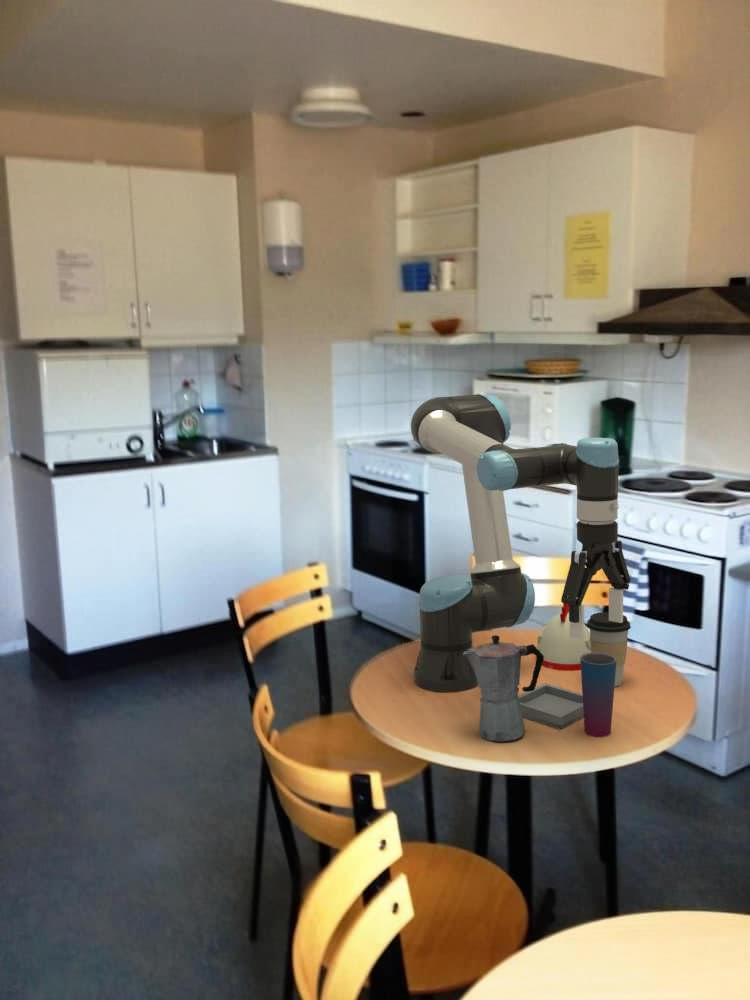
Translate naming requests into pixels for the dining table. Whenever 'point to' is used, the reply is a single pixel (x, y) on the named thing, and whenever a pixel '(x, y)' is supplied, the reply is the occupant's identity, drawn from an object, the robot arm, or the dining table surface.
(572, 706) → the tray
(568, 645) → the kitchen timer
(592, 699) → the cup
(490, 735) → the moka pot
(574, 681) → the dining table surface
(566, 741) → the dining table surface
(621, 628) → the coffee cup
